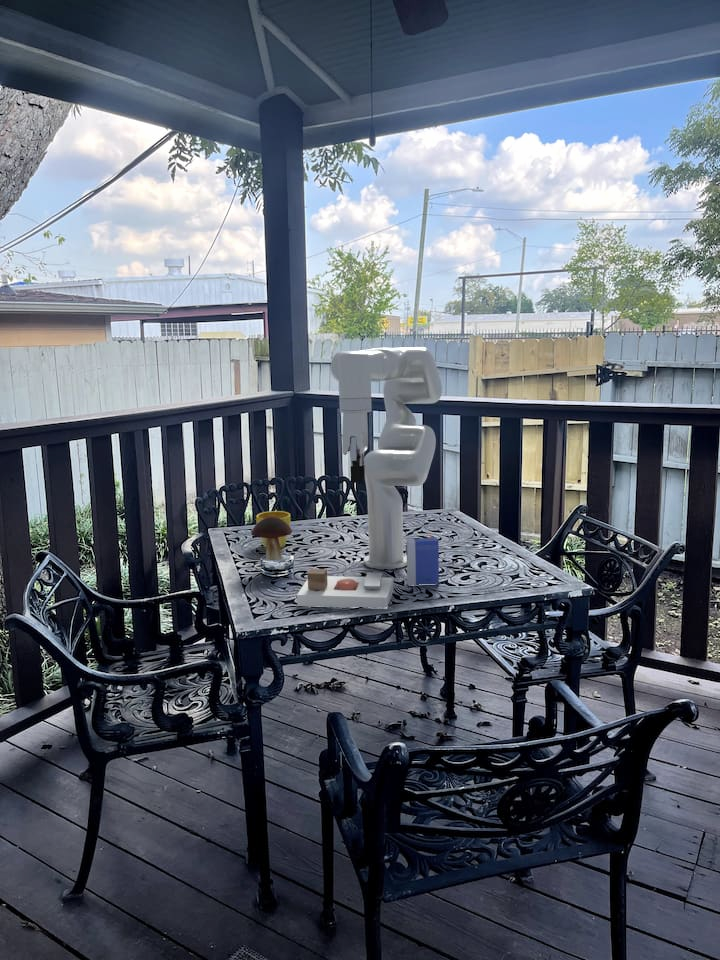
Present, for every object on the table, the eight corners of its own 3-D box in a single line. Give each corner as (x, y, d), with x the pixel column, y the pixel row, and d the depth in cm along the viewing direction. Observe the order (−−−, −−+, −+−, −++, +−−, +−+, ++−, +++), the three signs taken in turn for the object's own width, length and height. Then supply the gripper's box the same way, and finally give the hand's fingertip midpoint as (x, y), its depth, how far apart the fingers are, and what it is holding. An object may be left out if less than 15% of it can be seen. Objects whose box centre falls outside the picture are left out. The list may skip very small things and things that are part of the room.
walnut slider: (311, 584, 157) (310, 568, 156) (327, 585, 156) (326, 569, 156) (308, 589, 154) (307, 573, 153) (324, 589, 153) (324, 573, 153)
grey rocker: (367, 575, 158) (367, 572, 158) (382, 575, 157) (382, 572, 157) (364, 588, 153) (363, 585, 152) (379, 589, 152) (379, 586, 152)
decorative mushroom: (302, 568, 179) (299, 515, 176) (271, 579, 171) (268, 524, 168) (275, 560, 186) (272, 509, 183) (245, 571, 178) (241, 518, 175)
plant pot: (294, 540, 205) (293, 510, 203) (288, 550, 195) (286, 519, 193) (262, 540, 206) (260, 510, 204) (254, 550, 196) (252, 519, 194)
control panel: (310, 587, 165) (309, 572, 164) (393, 589, 161) (393, 574, 161) (297, 607, 152) (296, 591, 151) (387, 609, 149) (387, 593, 148)
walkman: (436, 581, 166) (436, 535, 164) (438, 585, 163) (438, 539, 161) (405, 583, 165) (405, 537, 163) (407, 587, 163) (407, 540, 160)
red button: (339, 590, 159) (338, 578, 159) (357, 590, 158) (356, 579, 158) (336, 597, 155) (335, 585, 154) (354, 597, 154) (353, 585, 154)
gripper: (345, 403, 162) (347, 475, 165) (333, 408, 147) (336, 488, 151) (375, 402, 160) (377, 475, 164) (366, 408, 146) (369, 488, 150)
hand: (357, 481), depth 157 cm, fingers closed
